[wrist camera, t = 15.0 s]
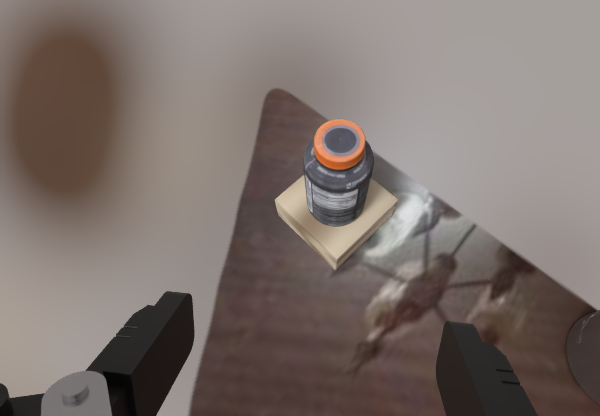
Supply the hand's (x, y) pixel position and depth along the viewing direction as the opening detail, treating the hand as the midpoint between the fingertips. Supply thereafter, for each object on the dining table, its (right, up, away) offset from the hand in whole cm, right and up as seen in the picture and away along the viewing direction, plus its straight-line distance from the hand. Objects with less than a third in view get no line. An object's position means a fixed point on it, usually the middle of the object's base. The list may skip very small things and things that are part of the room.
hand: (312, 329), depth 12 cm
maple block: (+3, +3, +32) cm, 32 cm away
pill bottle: (+3, +4, +28) cm, 29 cm away
